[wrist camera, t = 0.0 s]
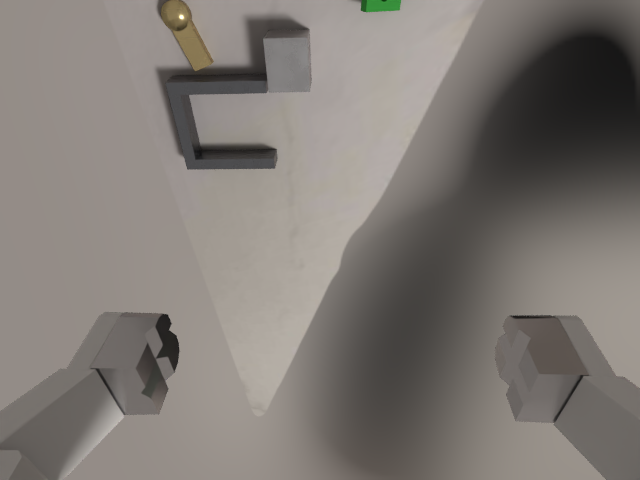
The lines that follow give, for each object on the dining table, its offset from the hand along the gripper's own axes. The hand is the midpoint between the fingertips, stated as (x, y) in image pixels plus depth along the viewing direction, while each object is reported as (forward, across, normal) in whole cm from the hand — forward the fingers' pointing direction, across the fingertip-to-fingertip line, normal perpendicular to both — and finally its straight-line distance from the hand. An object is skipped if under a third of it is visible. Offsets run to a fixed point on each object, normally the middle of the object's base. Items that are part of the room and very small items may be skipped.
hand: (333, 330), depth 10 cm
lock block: (+48, +6, +5) cm, 49 cm away
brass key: (+48, +18, +3) cm, 51 cm away
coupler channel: (+48, +14, +13) cm, 52 cm away
